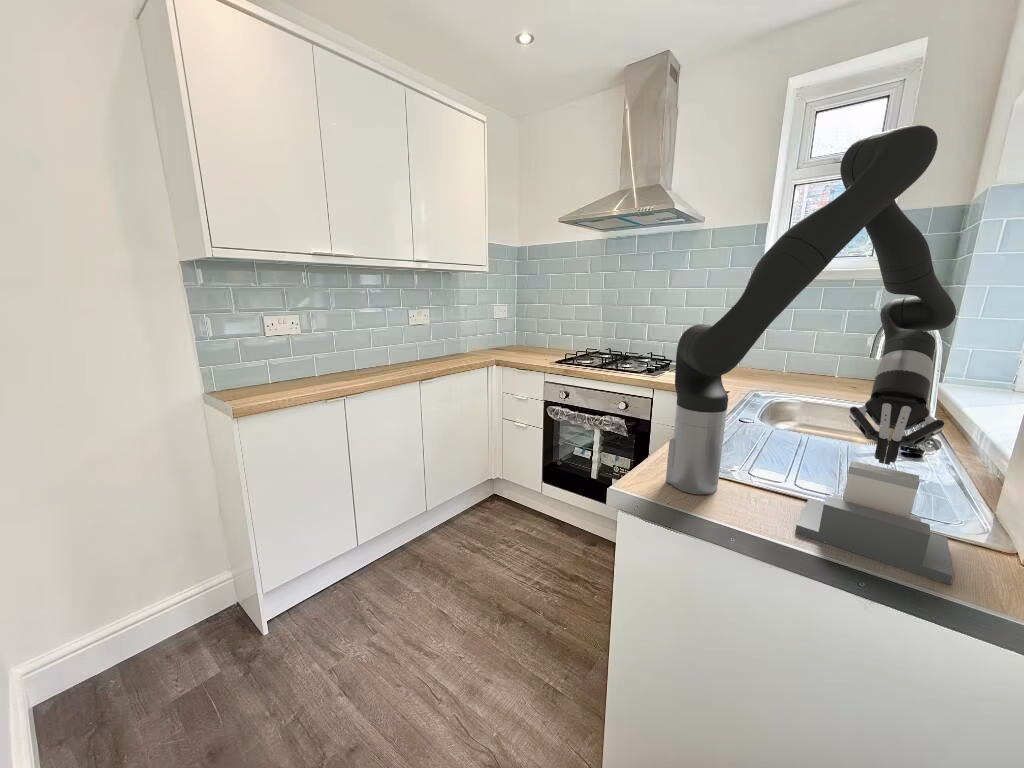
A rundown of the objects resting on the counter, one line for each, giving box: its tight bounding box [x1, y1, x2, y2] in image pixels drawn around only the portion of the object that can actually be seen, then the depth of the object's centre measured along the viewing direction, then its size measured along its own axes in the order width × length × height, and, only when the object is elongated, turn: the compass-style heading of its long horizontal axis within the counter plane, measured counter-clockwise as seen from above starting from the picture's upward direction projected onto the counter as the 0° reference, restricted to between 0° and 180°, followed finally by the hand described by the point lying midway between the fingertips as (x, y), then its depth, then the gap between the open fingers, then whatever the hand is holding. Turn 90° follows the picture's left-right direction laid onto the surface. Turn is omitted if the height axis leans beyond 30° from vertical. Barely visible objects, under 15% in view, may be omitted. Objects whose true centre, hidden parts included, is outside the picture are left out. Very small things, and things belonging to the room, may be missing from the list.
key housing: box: [794, 493, 954, 586], centre depth 66 cm, size 18×12×6 cm, turn 46°
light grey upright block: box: [842, 460, 920, 519], centre depth 65 cm, size 8×3×10 cm, turn 46°
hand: (884, 461), depth 70 cm, fingers closed
